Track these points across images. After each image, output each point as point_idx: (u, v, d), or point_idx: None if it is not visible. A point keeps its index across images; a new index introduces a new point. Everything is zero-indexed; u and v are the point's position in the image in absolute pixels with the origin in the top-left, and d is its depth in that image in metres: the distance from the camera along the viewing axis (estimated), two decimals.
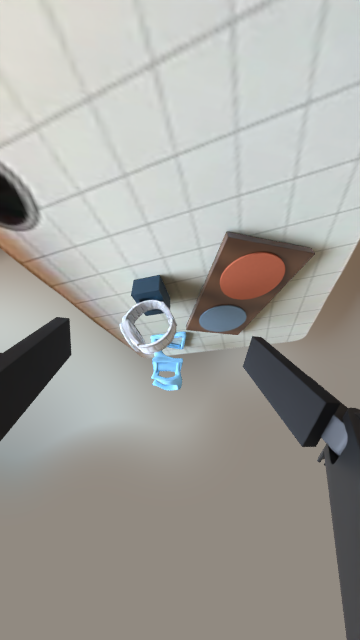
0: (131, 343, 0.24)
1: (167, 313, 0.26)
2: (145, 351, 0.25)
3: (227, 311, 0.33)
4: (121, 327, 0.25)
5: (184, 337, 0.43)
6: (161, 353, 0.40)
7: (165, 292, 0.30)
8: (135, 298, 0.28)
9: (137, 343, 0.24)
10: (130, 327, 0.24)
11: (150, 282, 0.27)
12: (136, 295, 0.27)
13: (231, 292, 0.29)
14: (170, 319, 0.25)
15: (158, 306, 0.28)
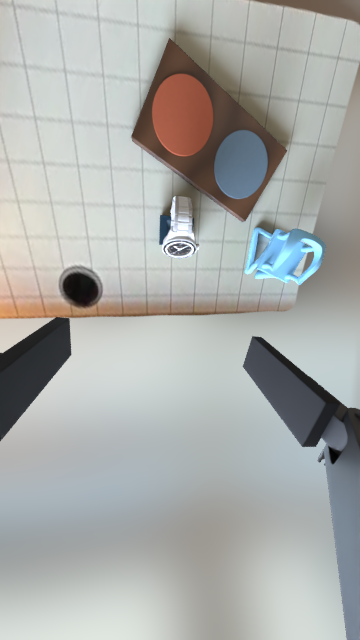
0: (171, 239, 0.24)
1: (172, 204, 0.26)
2: (186, 229, 0.23)
3: (226, 155, 0.29)
4: None
5: (261, 230, 0.34)
6: None
7: None
8: None
9: (170, 230, 0.24)
10: None
11: None
12: (161, 239, 0.31)
13: (195, 144, 0.28)
14: (174, 199, 0.25)
15: None
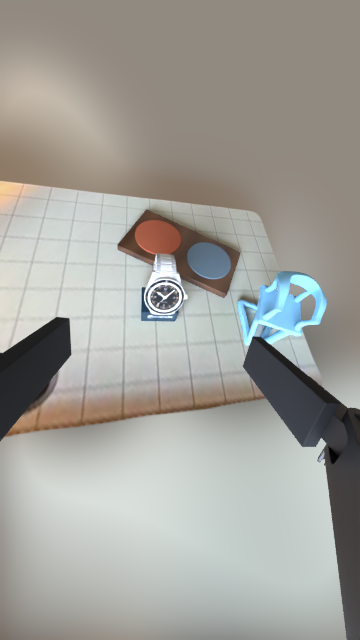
0: (155, 280, 0.21)
1: (153, 270, 0.26)
2: (170, 269, 0.21)
3: (195, 253, 0.36)
4: None
5: (245, 302, 0.34)
6: (255, 315, 0.28)
7: None
8: (147, 310, 0.27)
9: (153, 272, 0.21)
10: (146, 289, 0.22)
11: None
12: (143, 307, 0.27)
13: (169, 248, 0.35)
14: (155, 263, 0.26)
15: None
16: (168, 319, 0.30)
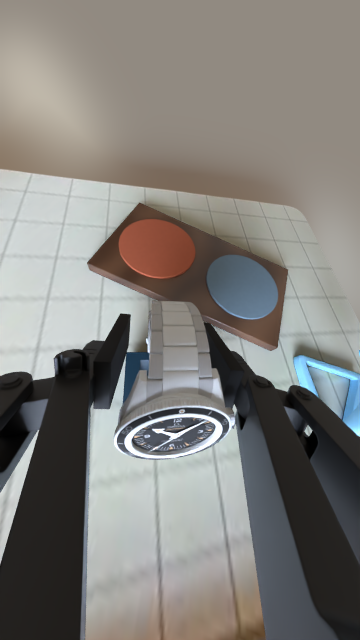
0: (144, 407, 0.07)
1: None
2: (193, 367, 0.07)
3: (220, 274, 0.22)
4: None
5: (308, 359, 0.20)
6: (356, 412, 0.14)
7: None
8: None
9: (139, 377, 0.07)
10: None
11: None
12: None
13: (177, 266, 0.21)
14: None
15: None
16: None
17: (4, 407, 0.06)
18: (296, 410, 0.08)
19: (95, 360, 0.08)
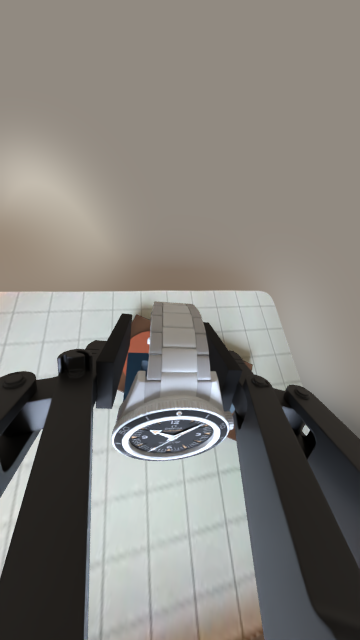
0: (142, 408, 0.07)
1: (150, 327, 0.12)
2: (192, 369, 0.07)
3: None
4: None
5: None
6: None
7: None
8: None
9: (137, 378, 0.07)
10: None
11: None
12: None
13: None
14: None
15: None
16: None
17: (8, 407, 0.06)
18: (293, 410, 0.08)
19: (98, 360, 0.08)
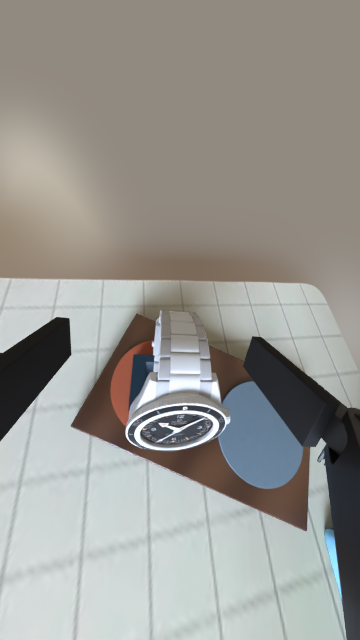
0: (153, 403, 0.08)
1: (155, 331, 0.13)
2: (196, 371, 0.08)
3: (233, 419, 0.18)
4: None
5: None
6: None
7: None
8: None
9: (149, 378, 0.08)
10: None
11: None
12: (132, 399, 0.14)
13: None
14: (159, 321, 0.13)
15: None
16: None
17: None
18: None
19: None
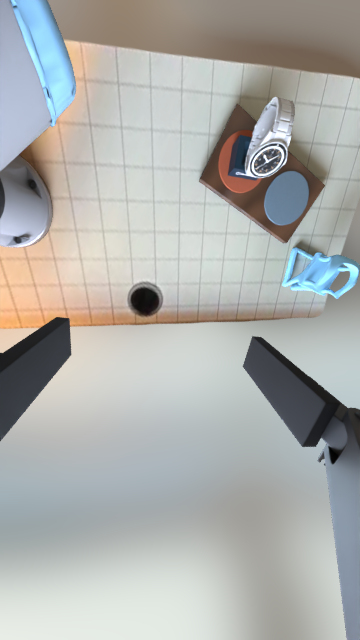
0: (267, 142, 0.24)
1: (261, 115, 0.26)
2: (286, 130, 0.23)
3: (275, 191, 0.35)
4: (250, 159, 0.26)
5: (299, 250, 0.40)
6: (299, 274, 0.38)
7: None
8: (239, 167, 0.30)
9: (269, 131, 0.23)
10: (254, 148, 0.25)
11: (233, 151, 0.31)
12: (236, 162, 0.30)
13: (251, 183, 0.34)
14: (267, 106, 0.25)
15: (257, 144, 0.29)
16: (251, 178, 0.33)
17: None
18: None
19: None
